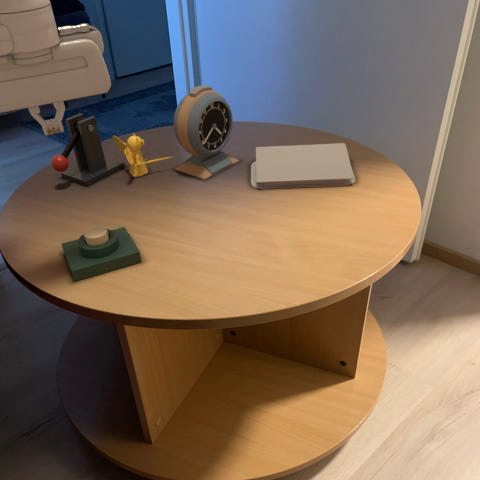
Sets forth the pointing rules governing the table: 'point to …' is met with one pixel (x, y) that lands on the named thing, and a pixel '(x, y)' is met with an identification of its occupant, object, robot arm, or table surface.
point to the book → (301, 166)
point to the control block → (101, 254)
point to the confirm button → (96, 236)
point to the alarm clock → (204, 132)
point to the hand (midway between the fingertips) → (54, 132)
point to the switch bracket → (89, 154)
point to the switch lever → (66, 150)
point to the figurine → (135, 154)
